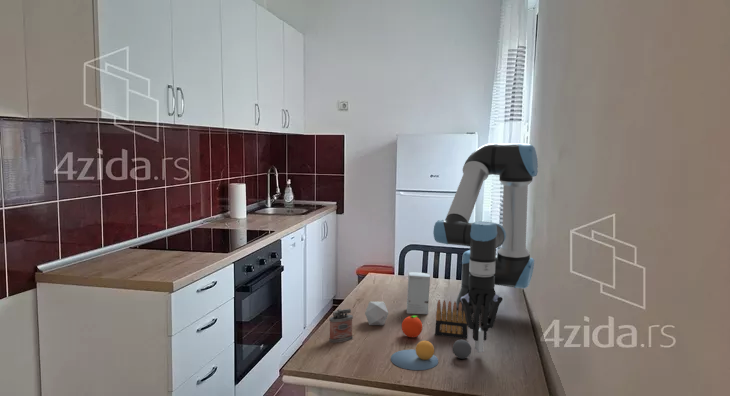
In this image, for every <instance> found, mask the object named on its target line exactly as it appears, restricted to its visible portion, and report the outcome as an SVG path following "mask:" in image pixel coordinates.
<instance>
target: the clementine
mask: <svg viewBox="0 0 730 396" xmlns="http://www.w3.org/2000/svg"><path fill="white" fill-rule="evenodd" d="M420 318H421V317H420V316H418V315H409V316H407V317H405V318H404V319H403V320H402V323H401V331H402V333H403V334H404V335H405V336H406V337H408V338H416V337H418V336H420V334H421V333H422V331H423V322H422V320H421V319H420Z"/></svg>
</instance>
